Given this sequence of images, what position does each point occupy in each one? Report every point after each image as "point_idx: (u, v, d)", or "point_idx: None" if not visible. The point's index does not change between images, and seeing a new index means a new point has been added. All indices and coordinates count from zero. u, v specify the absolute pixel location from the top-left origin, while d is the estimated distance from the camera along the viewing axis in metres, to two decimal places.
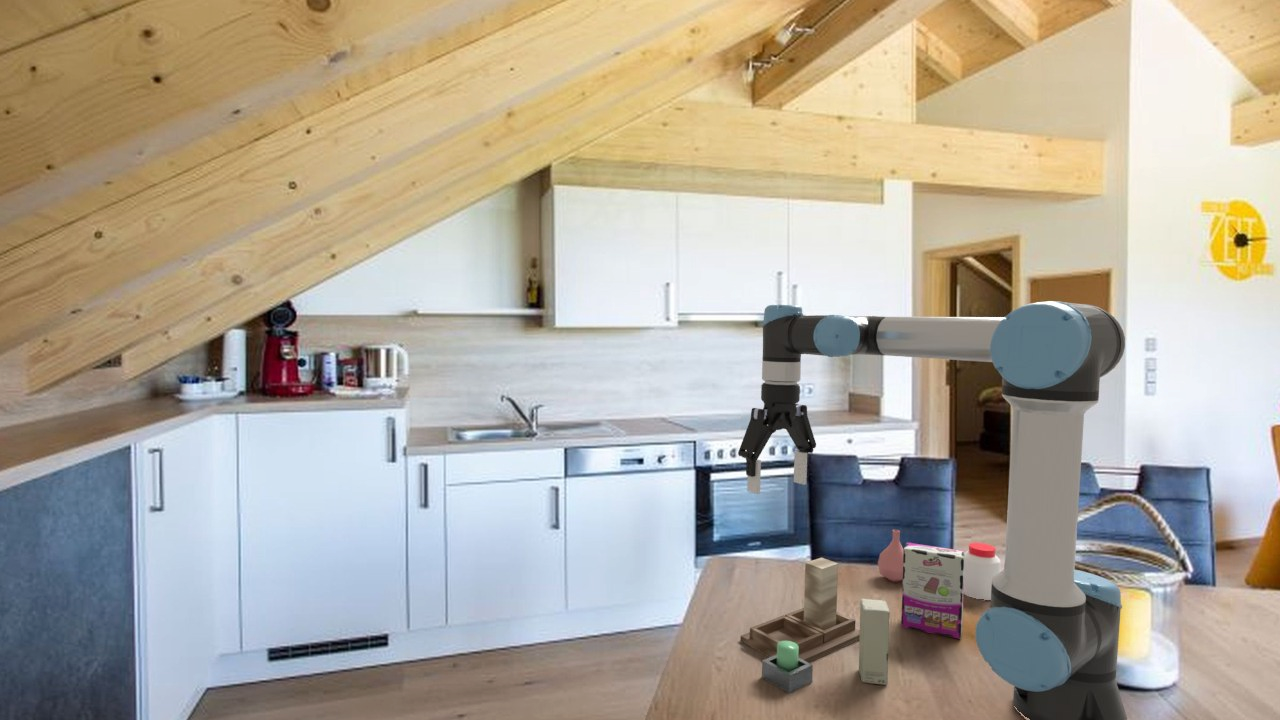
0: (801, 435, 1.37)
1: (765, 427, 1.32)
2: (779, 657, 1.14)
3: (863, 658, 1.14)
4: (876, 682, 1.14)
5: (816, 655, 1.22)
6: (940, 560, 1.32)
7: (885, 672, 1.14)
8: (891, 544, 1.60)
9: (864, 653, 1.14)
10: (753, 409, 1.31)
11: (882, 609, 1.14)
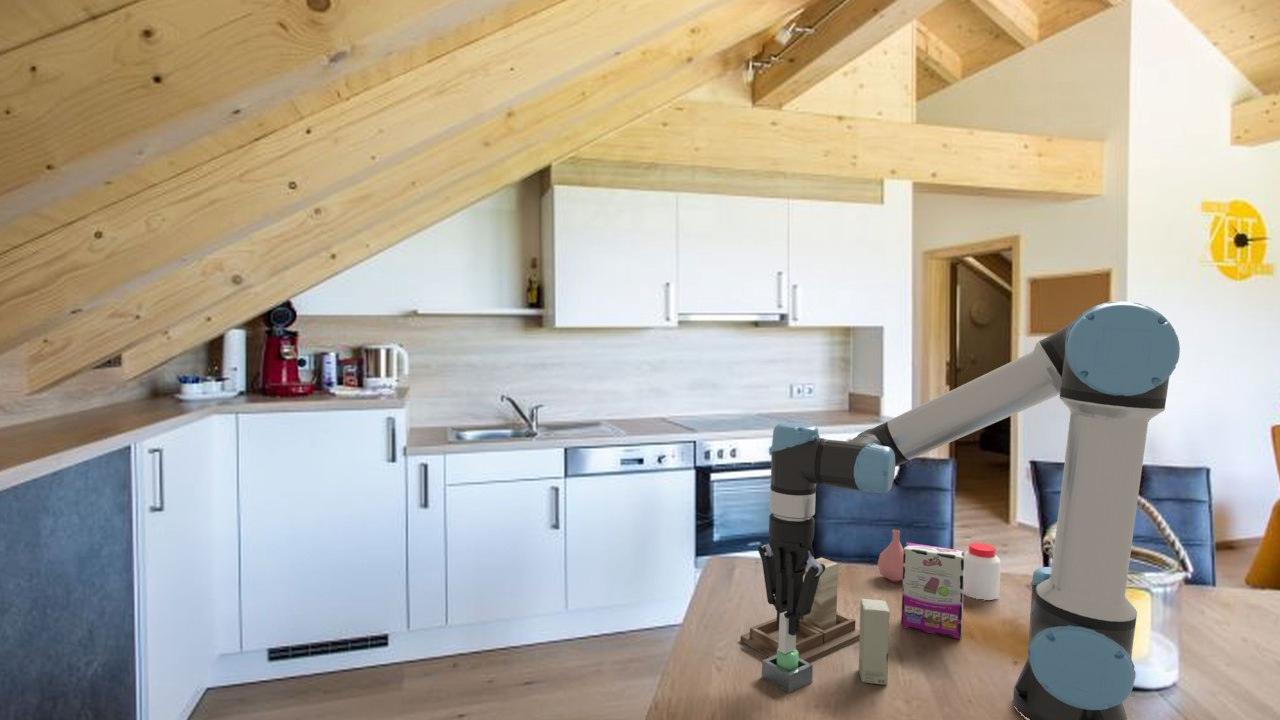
0: (791, 591, 1.12)
1: None
2: (779, 663, 1.14)
3: (863, 658, 1.14)
4: (876, 682, 1.14)
5: (816, 655, 1.22)
6: (940, 560, 1.32)
7: (885, 672, 1.14)
8: (891, 544, 1.60)
9: (864, 653, 1.14)
10: None
11: (882, 609, 1.14)
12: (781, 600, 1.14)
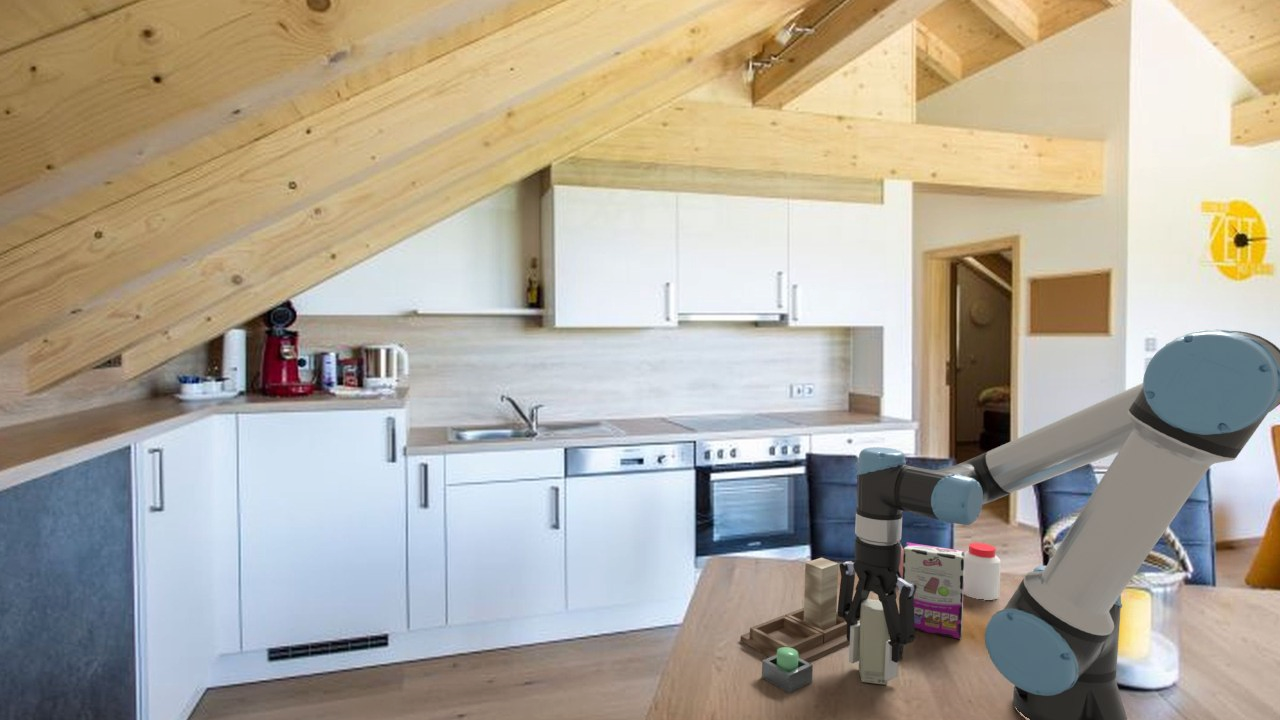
0: (888, 616, 1.13)
1: None
2: (779, 664, 1.14)
3: (863, 658, 1.14)
4: (876, 682, 1.14)
5: (816, 655, 1.22)
6: (940, 560, 1.32)
7: None
8: None
9: (864, 653, 1.14)
10: None
11: (882, 609, 1.14)
12: (854, 616, 1.18)
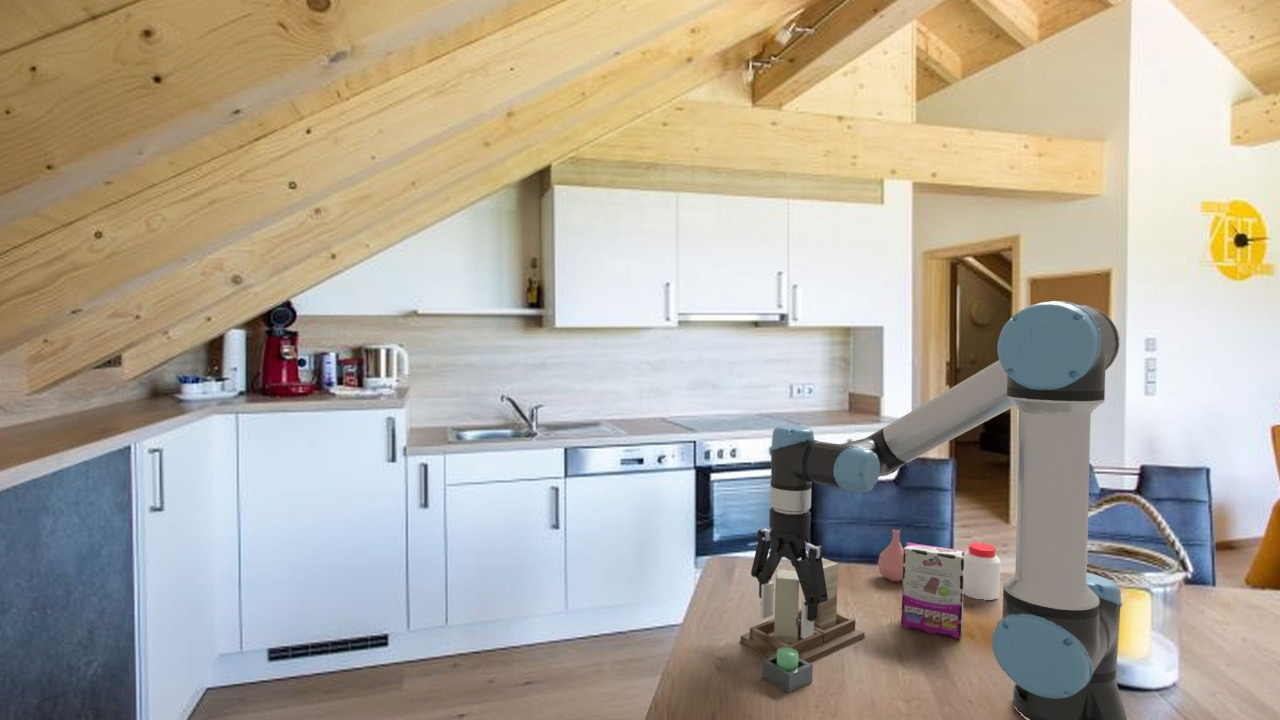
0: (801, 578, 1.22)
1: None
2: (779, 664, 1.14)
3: (775, 623, 1.25)
4: None
5: (816, 655, 1.22)
6: (940, 560, 1.32)
7: (795, 636, 1.24)
8: (891, 544, 1.60)
9: (776, 618, 1.25)
10: None
11: (792, 578, 1.24)
12: (765, 576, 1.29)
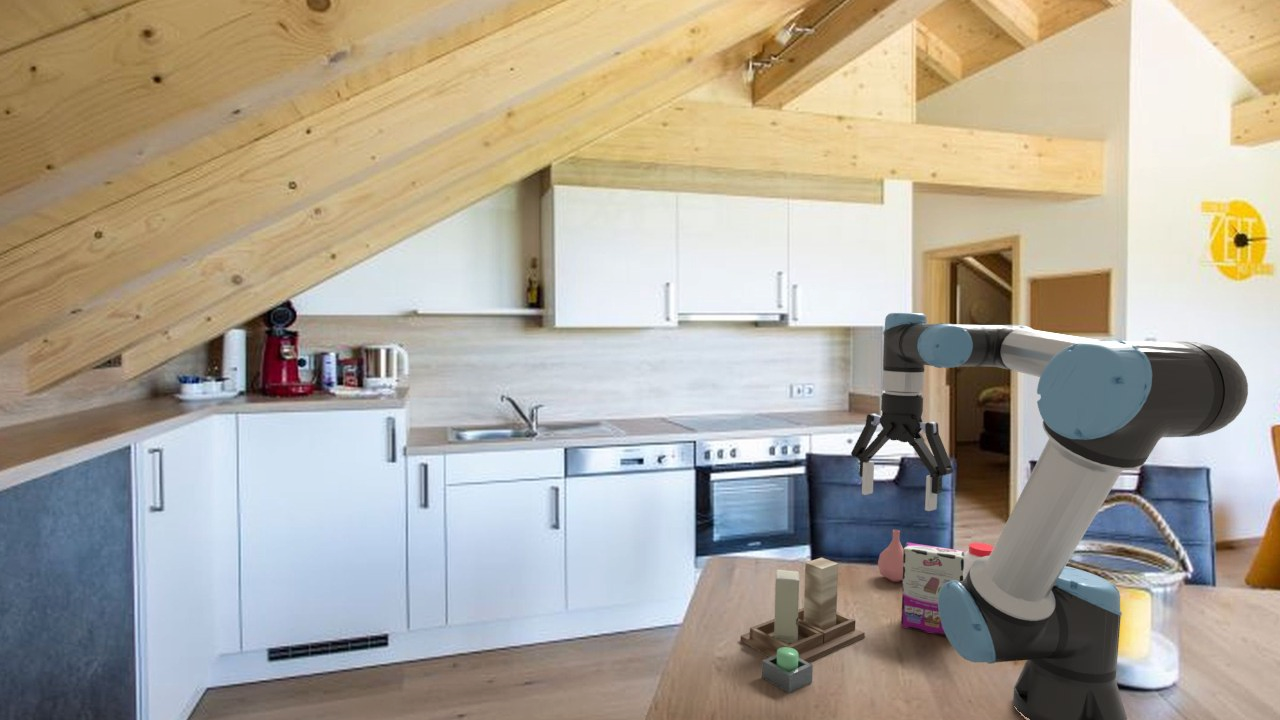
0: (922, 454, 1.25)
1: None
2: (779, 664, 1.14)
3: (775, 623, 1.25)
4: None
5: (816, 655, 1.22)
6: (940, 560, 1.32)
7: (795, 636, 1.24)
8: (891, 544, 1.60)
9: (776, 618, 1.25)
10: None
11: (792, 578, 1.24)
12: (867, 455, 1.35)
